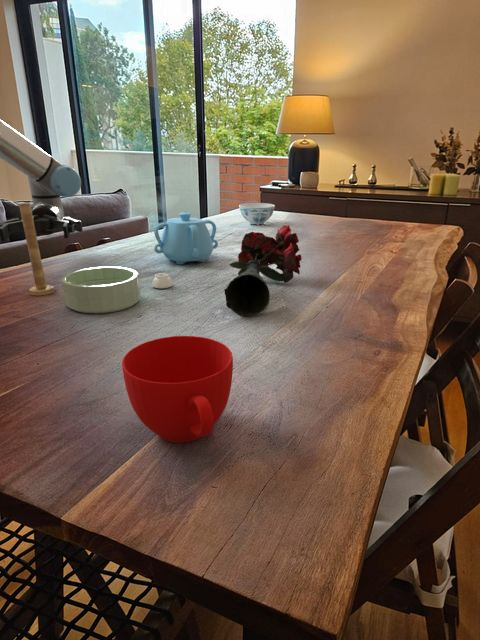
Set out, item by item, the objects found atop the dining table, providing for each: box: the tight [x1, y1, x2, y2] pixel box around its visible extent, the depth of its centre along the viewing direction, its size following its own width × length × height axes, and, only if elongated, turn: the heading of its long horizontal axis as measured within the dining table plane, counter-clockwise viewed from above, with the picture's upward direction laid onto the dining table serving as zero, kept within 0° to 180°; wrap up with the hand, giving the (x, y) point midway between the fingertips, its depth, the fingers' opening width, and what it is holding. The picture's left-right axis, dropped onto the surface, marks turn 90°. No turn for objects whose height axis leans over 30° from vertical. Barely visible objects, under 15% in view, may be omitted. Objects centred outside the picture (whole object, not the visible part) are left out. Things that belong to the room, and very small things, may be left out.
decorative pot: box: [153, 212, 219, 265], centre depth 134 cm, size 16×16×14 cm
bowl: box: [61, 266, 142, 314], centre depth 100 cm, size 16×16×6 cm
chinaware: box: [238, 202, 276, 225], centre depth 194 cm, size 15×15×8 cm
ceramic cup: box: [121, 335, 234, 444], centre depth 55 cm, size 13×17×10 cm
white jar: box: [151, 272, 174, 290], centre depth 112 cm, size 5×3×5 cm
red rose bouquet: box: [224, 224, 303, 318], centre depth 107 cm, size 16×18×35 cm
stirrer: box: [18, 202, 55, 297], centre depth 103 cm, size 5×5×20 cm
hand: (33, 233), depth 106 cm, fingers open, 13 cm apart
